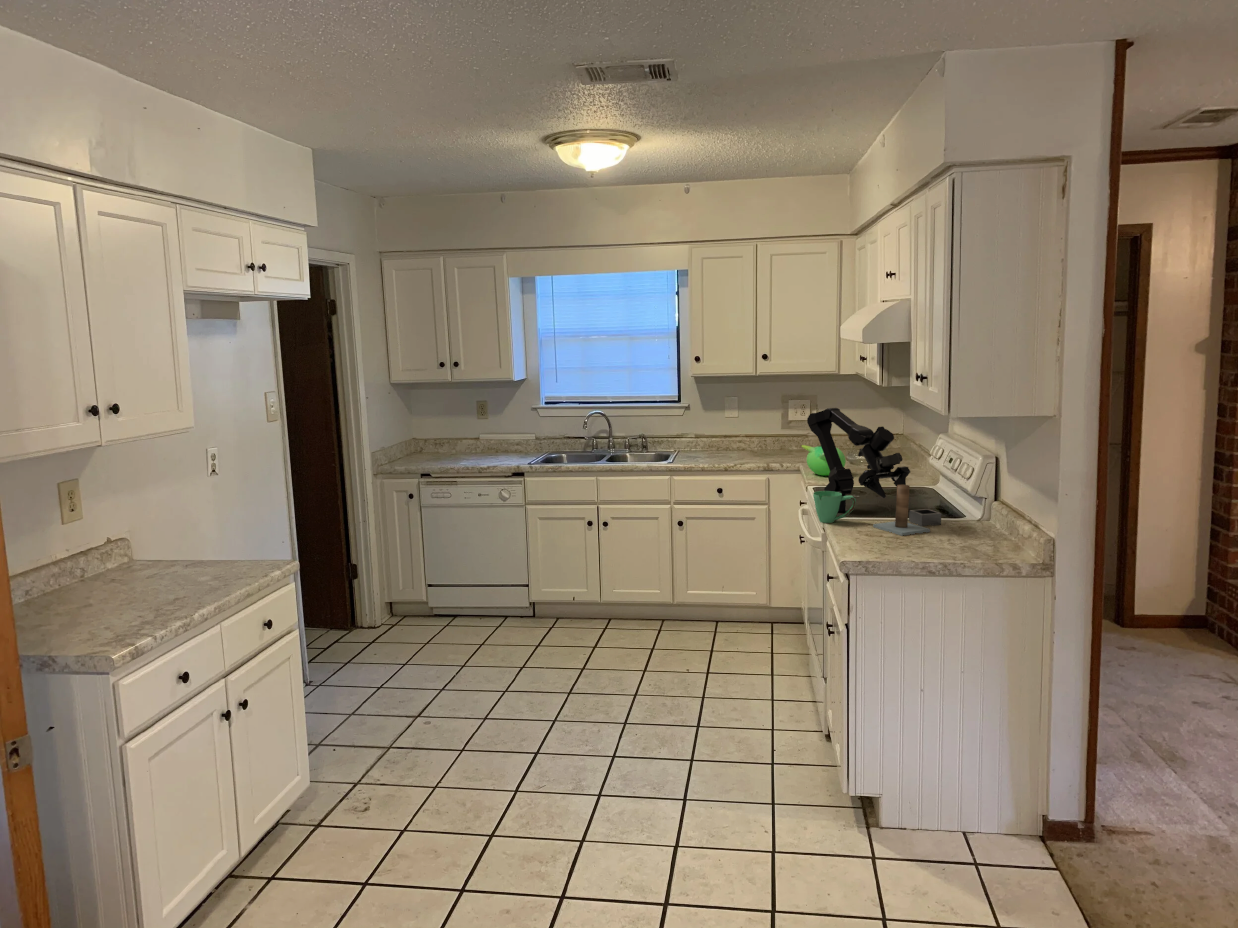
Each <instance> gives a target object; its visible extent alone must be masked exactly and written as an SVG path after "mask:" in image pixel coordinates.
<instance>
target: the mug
mask: <svg viewBox="0 0 1238 928" xmlns="http://www.w3.org/2000/svg"><path fill="white" fill-rule="evenodd" d="M812 496H813V501H814V506H815V511H816V514H817V517H818V520H819V522H820V523H823V524H833V523H834V522H835V521H838V520H840V519H844V518H846V517H847V516H849V515H850V513H852V511H854V510H855V509H856V508H855V507H856V503H857V499H856V498H855V497H854V496H853V495H846V496H842V494H841V493H839V492H833V491H824V490H819V491H818V490H817V491H814V492H813V494H812ZM842 500H846V501H847V500H851V501H852V504H851V506H850V508H848V511H847V512H844V513H842V514H840V515H838V513H839V512H838V510H839V506H840V502H841V501H842Z"/></svg>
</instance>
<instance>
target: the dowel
mask: <svg viewBox="0 0 1238 928" xmlns="http://www.w3.org/2000/svg"><path fill="white" fill-rule="evenodd" d="M910 487H911V486H910V485H908V484H906V485H897V487H896V497H895V498H896V503H895V518H894V521H895V527H899V528H906V527H907V526H908V523H909V508H910V507H909V506H910V505H909V502H910Z"/></svg>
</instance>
